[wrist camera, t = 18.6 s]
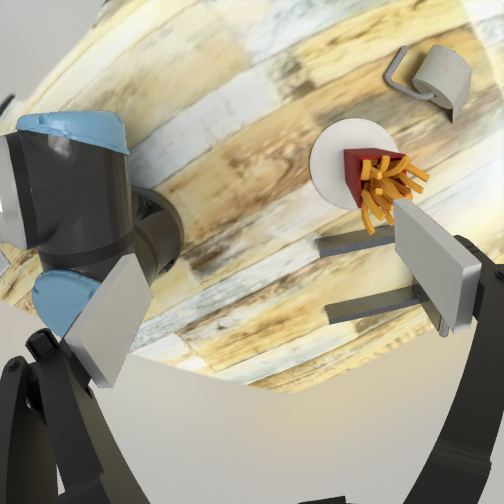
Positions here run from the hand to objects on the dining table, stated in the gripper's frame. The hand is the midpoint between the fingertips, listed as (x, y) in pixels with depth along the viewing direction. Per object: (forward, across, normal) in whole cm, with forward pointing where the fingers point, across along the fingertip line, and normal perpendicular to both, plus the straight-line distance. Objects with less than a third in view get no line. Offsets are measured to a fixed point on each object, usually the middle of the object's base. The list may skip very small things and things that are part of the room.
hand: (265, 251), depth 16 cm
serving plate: (+33, +13, -5) cm, 36 cm away
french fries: (+32, +14, -6) cm, 36 cm away
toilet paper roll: (+36, +30, +4) cm, 47 cm away
